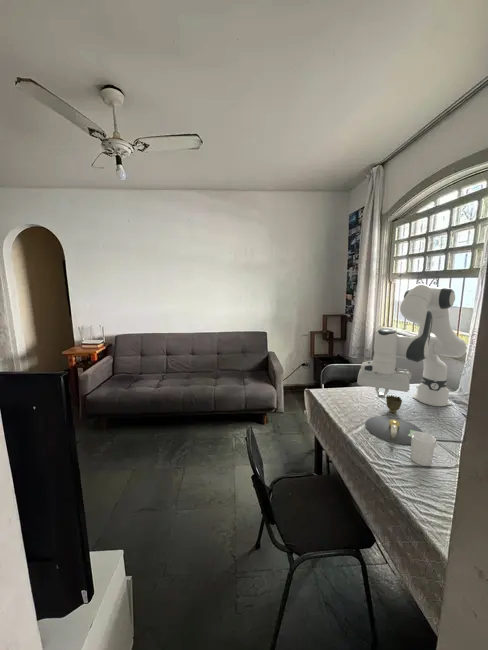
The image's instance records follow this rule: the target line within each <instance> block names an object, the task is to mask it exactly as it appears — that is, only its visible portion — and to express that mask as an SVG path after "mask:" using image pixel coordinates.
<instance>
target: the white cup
mask: <svg viewBox="0 0 488 650" xmlns="http://www.w3.org/2000/svg"><path fill="white" fill-rule="evenodd" d="M436 440H437V439H436V437H434V436H433V435H431V434H430V433H427V432H425V431H422V432H413V433H412V437H411V445H410V458H411V459H410V460H411V461H413V462H414V463H416V464H417V465H420V466H424V467H428V466H429V467H430V466H431V464H432V461H433V457H434V452H435V448H436V442H437V441H436Z"/></svg>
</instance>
